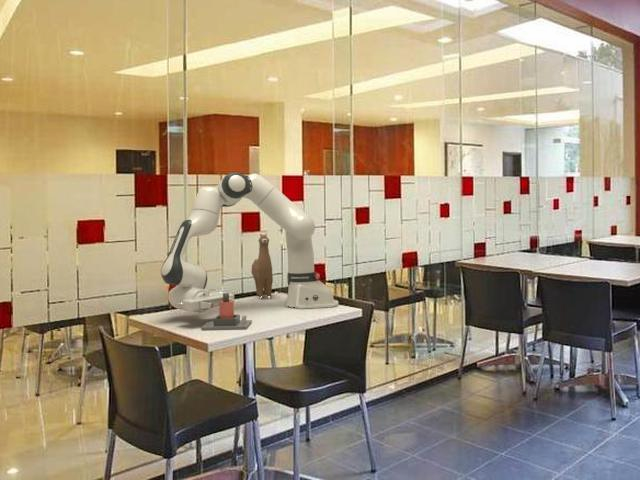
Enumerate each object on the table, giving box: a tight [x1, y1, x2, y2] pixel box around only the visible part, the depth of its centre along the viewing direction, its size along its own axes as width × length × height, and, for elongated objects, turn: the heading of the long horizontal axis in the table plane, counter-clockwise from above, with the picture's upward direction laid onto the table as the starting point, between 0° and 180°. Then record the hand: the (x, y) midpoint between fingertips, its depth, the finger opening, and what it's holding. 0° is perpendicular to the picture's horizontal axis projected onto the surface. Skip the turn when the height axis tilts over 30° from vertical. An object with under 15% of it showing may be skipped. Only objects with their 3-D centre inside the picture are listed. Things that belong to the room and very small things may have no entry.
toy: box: [250, 233, 274, 298], centre depth 287 cm, size 9×20×30 cm, turn 14°
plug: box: [218, 292, 235, 319], centre depth 221 cm, size 4×4×11 cm
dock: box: [200, 314, 253, 331], centre depth 221 cm, size 16×12×4 cm
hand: (222, 303), depth 223 cm, fingers open, 8 cm apart
